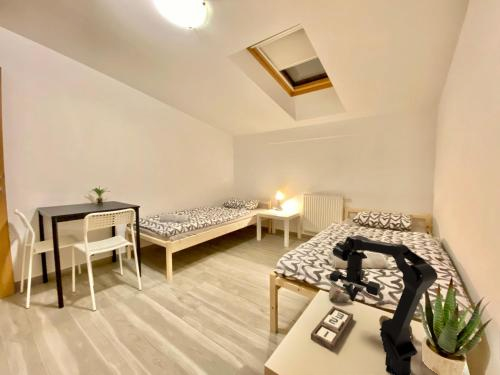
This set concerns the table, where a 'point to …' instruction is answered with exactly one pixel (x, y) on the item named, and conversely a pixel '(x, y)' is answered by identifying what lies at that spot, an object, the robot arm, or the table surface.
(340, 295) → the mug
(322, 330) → the tile
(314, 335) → the tile rack
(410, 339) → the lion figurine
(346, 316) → the tile
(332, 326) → the tile
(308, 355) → the table surface
